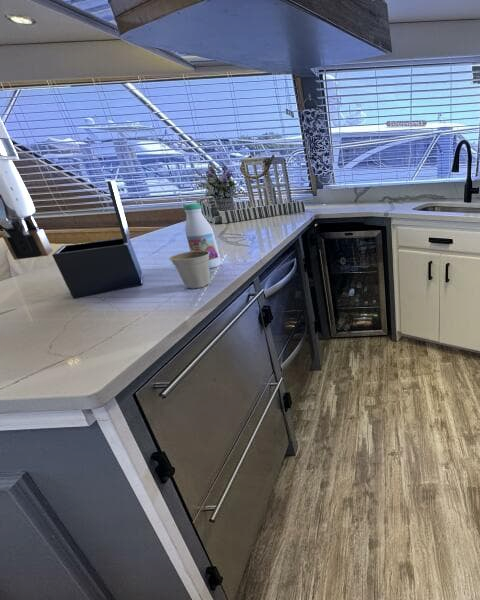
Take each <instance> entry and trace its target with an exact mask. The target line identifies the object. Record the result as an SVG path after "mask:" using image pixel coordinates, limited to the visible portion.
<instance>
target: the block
mask: <svg viewBox="0 0 480 600" xmlns="http://www.w3.org/2000/svg"><path fill="white" fill-rule="evenodd" d="M28 231H29V234H30V235H33V237H34V239H35V241H36V243H37V245H38V247H39V249H40V251H41V253H42V255H41V256H38V257H37V258H39V257H40V258H41V257H48V256H49V255H50V254H52V252H54V250H53V247H52V246H51V243H50V241H49V239H48V237H47V235H46V233H45V230H44V228H40V229H39V228H38V229H37V230H28ZM2 239H3V241H4V243H5V245H6V247H7V248H8V251H9V252H10V254H11V256H12V258H13V260H14V261H17V260H20V259H19V258H17V257H16V255H15V253H14V251H13V249H12V247H11V245H10V243H9V241H8V239H7V237H6V236H5V234H2ZM32 258H34V257H30V258H29V259H32ZM25 259H26V258H22V259H21V260H25Z"/></svg>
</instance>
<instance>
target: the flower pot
mask: <svg viewBox="0 0 480 600" xmlns="http://www.w3.org/2000/svg"><path fill="white" fill-rule="evenodd" d="M209 254H210V252H208V251H185V252H181V253H177V254H173V255H171V256H169V257H168V259H169V261H171V262H172V265H174V267H175V268H176V271H177V273H178V274H179V277H180V279H181V281H182V282H183V285H184V287H185V288H186V289H201V288H203V287H206V286H208V285H211V283H212V279H211V271H210V268H209Z"/></svg>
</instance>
